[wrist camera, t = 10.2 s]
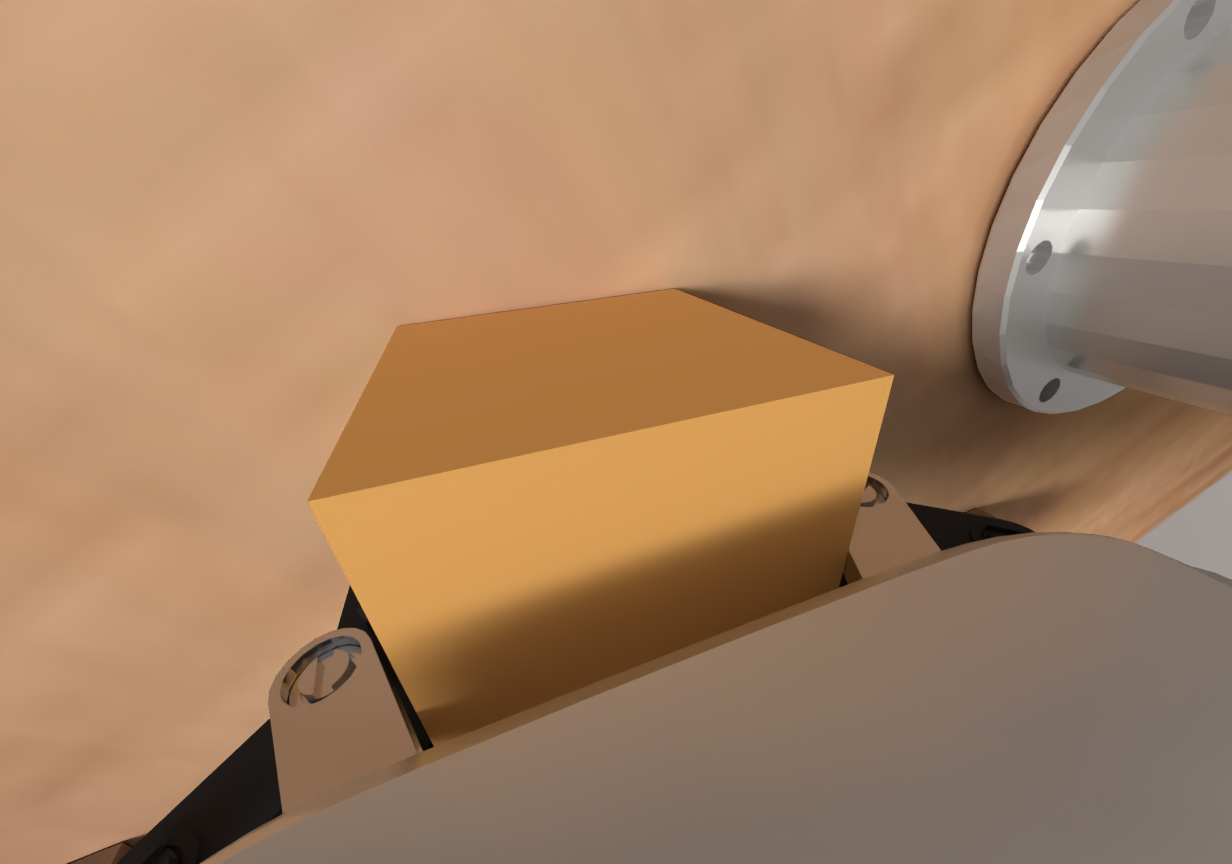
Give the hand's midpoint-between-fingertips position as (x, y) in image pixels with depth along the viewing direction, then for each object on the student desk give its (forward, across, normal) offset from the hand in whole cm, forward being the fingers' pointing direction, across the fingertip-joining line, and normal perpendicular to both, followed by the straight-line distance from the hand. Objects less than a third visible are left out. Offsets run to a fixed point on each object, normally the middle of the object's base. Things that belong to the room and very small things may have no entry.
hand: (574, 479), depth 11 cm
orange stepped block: (+1, 0, +1) cm, 1 cm away
